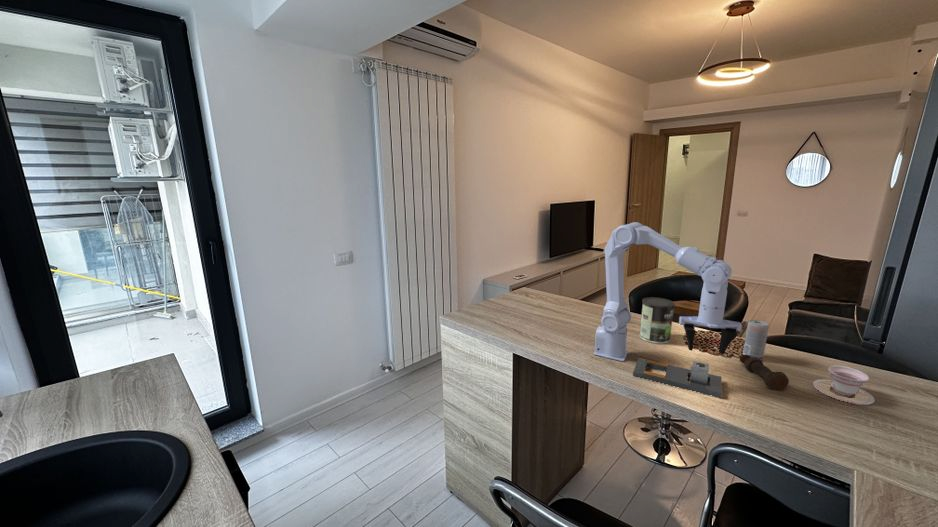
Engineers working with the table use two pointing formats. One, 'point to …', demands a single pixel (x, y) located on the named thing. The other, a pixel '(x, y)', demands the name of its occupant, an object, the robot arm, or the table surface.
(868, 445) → the table surface
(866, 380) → the teacup
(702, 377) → the nut block
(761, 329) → the energy drink
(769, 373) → the dark brown lumpy rod
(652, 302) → the coffee can
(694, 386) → the rail
